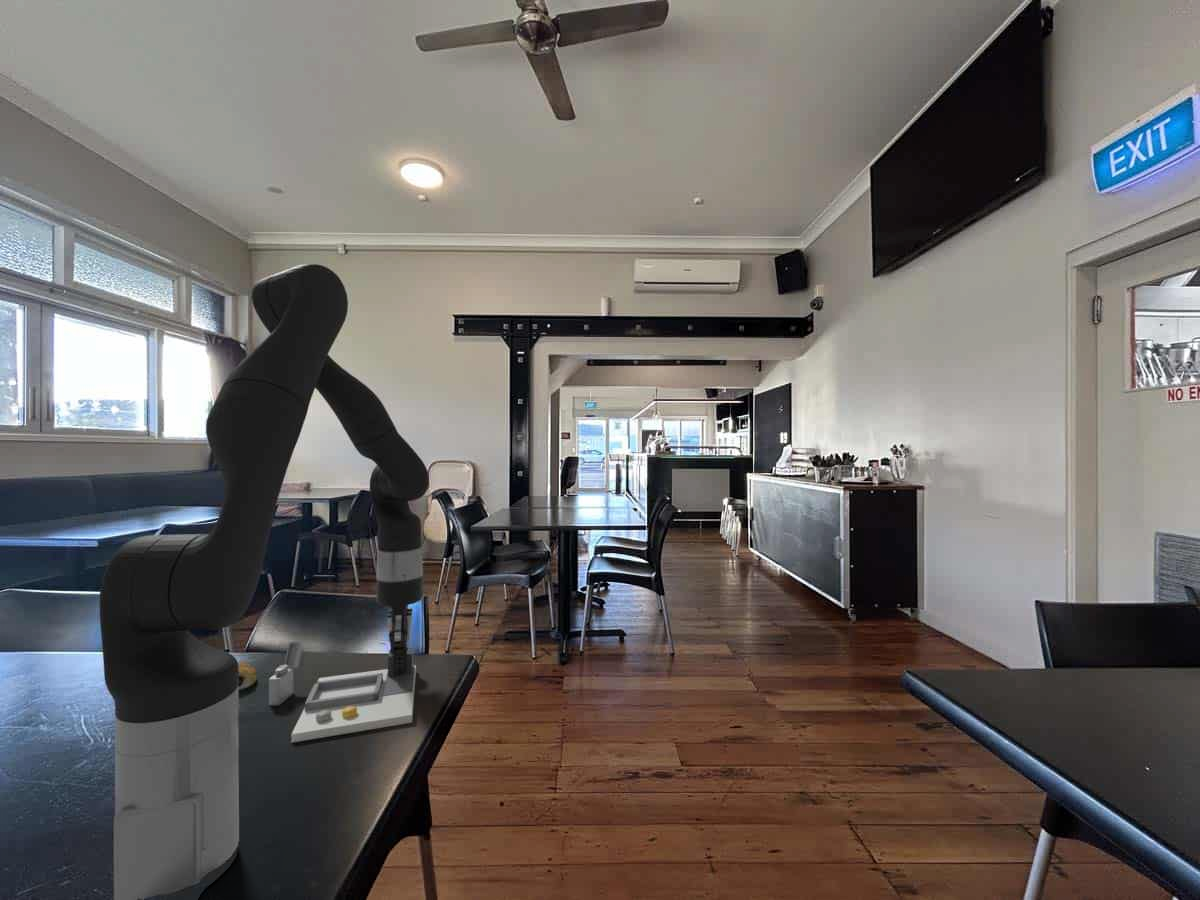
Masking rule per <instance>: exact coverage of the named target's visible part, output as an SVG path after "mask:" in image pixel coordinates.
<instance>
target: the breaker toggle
mask: <svg viewBox="0 0 1200 900" xmlns="http://www.w3.org/2000/svg"><path fill="white" fill-rule="evenodd" d="M390 650H391V649H389V651H388V656H387V669H388V676H395V675H394V674H393V655H391V653H390ZM413 662H414V647H408V651H407V672H406V673H405V674H409V673H412V670H413V666H414V663H413Z"/></svg>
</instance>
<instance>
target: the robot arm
mask: <svg viewBox="0 0 1200 900" xmlns="http://www.w3.org/2000/svg"><path fill="white" fill-rule="evenodd" d="M348 299H349V298H348V293H347V291H346V288H345V285H344V283H343V282H342V280H341V278H340V277H339V276H338V275H337V274H336V273H335V271H333V270H332V269H330V268H329V267H327V266H325V265H322V264H319V263H318V264H317V263H305V264H300V265H296V266H294V267H291V268H288V269H284V270H282V271H280V272H277V273H273V274H272V275H270V276H266V277H264V278H262V279H260V280H258V281H257V282H255V284H254V285H253V287H252V290H251V301H252V305H253V308H254V310H255V313H256V314H257V316H258V318H259V320H260V321H261V323H262V324H263V326H264V327H265V328H266V330H267V331H268V332H269V335H267V337H265V339H263V340H262V341H261V342H260V343H259V344H258V345H257V346H256V347H254V348H253V349H252V351H250V352H249V353H248V354H247V355H246V356H245V357H244V358H243V359H242V360H241V361H240V362H239V363H238V364H237V366H235V368H234V369H232V371H231V373H230V374H229V375H228V376H227V377H226V379H225V380H224V382H223V384H222V386H221V388H220V391H219V392H218V395H217V396H216V399H215V401H214V403H213V405H212V408H211V409H210V412H209V414H208V415H207V418H206V423H205V424H206V426H205V433H206V438H207V442H208V445H209V448H210V451H211V453H212V455H213V458H214V460H215V462H216V465H217V467H218V469H219V472H220V474H221V477H222V480H223V484H224V497H223V501H222V505H221V509H220V513H219V515H218V518H217V521H216V523H215V525H214V526H213V528H212V530H211V531H210V532H209V533H196V534H195V533H193V534H192V533H191V534H189V533H187V534H186V533H185V534H184V533H183V534H154V535H145V536H139V537H136V538H133V539H131V540H129V541H127V542H125V544H123V545H122V546H120V547H119V548H118V549H117V550H116V551H115V552H114V554H113V555H112V557H111V558H110V559H109V562H108V563H107V566H106V568H105V571H104V572H103V576H102V579H101V584H100V590H99V606H98V607H99V624H100V633H101V635H100V637H101V645H102V659H103V675H104V681H105V682H104V683H105V686H106V689H107V690H108V693H109V694H110V696H111V697H112V699H113V701H114V714H115V715H114V717H115V718H114V725H115V728H114V729H115V731H114V732H115V733H114V734H115V736H114V737H115V739H114V741H115V743H114V745H115V746H114V755H115V756H114V790H115V792H114V794H115V795H114V799H115V800H114V801H115V802H114V803H115V804H114V810H115V811H114V815H115V816H114V818H113V900H137V899H145V898H148V897H152V896H156V895H161V894H168V893H169V894H170V893H172V892H176V891H179V890H181V889H183V888H185V887H187V886H191V885H195V884H198V883H199V882H200V881H201V879H202V878H203V877H204V876H206V874H208V873H209V872H211V871H212V870H214V869H216V868H218V867H219V866H221V865H222V864H223V863H225V861H226V860H228V859H229V858H230V857H231V856H232V854H233V853H234V851H235V850H236V848H237V846H238V842H239V843H240V811H239V810H240V807H239V804H240V802H239V799H240V798H239V797H240V795H239V788H240V786H239V783H240V782H239V775H240V774H239V691H238V684H239V668H238V663H239V662H238V660H237V658H236V657H235V656H234V655H233V654H231V653H230V652H228V651H225V650H223V649H219V648H216V647H215V646H211V645H209V644H207V643H204V642H203V641H201V640H200V639H199V638H197V637H195V636H194V635H193V633H191V632H190V631H205V630H207V631H209V630H220V629H224V628H227V627H229V626H231V625H233V624H234V623H236V622H238V621H239V619H240V618H241V617H242V616H243V615H244V614H245V613H246V611H247V609H248V607H249V606H250V604H251V601H252V599H253V597H254V595H255V592H256V590H257V588H258V584H259V581H260V577H261V574H262V570H263V564H264V562H265V557H266V551H267V547H268V542H269V539H270V533H271V529H272V525H273V522H274V517H275V511H276V509H277V503H278V500H279V495H280V492H281V489H282V486H283V483H284V480H285V476H286V473H287V471H288V467H289V464H290V462H291V459H292V457H293V454H294V451H295V448H296V445H297V443H298V441H299V438H300V435H301V432H302V430H303V427H304V423H305V421H306V417H307V415H308V411H309V407H310V403H311V400H312V398H313V394H314V392H315V390H317V392H318V393H319V394H320V395H321V396H322V397H323V400H325V401H326V403H327V404H328V405H329V407H330V409H331V410H332V412H333V413H334V415H335V416H336V418H337V419H338V421H339V423H340V424H341V427H343V429H344V431H345V433H346V435H347V437H348V438H349V440H350V441H351V443H352V444H353V446H354V448H355V449H356V451H357V452H358V453H359V454H360V455H361V456H363V457H364V458H367V459H369V460H371V461H372V462H373V463H375V466H374V468H373V470H372V472H371V475H370V478H369V479H370V480H369V493H370V494H369V495H370V499H371V504H372V507H373V512H374V516H375V519H376V522H377V526H378V527H377V528H378V529H377V556H376V567H375V568H376V573H375V574H376V575H375V576H376V583H375V584H376V585H375V587H376V591H375V592H376V593H375V594H376V595H375V596H376V598H375V599H376V603H377V604H378V605H379V606H382V607H389V608H391V610H390V609H389V610H388V614H387V615H386V625H387V627H388V642H389V644H390V649H389V650H390V653H391V655H393V674H394V675H402V674H405V673H406V672H407V651H408V648H410V647H409V646H410V645H409V641H410V640H411V633H412V622H413V621H412V619H413V608H409V605H413V604H416V603H418V602H420V601H421V600H422V599H423V597H424V588H423V587H424V578H423V577H424V564H423V562H424V560H423V558H424V557H423V552H422V522H421V518H420V517H419V516H418V515H417V514H415V513H413V511H411V508H410V505H409V502H412V501H416V500H419V499H421V498H422V497H424V495H426V493H427V492H428V489H429V486H430V476H429V471H428V468H427V466H426V465H425V463H424V461H423V460H422V458H421V457H420V456H419V455H418V454H417V453H416V451H415V450H414V449H413V448H412V446H411V445H410V444H409V443H408V442H407V441H406V440H405V439H404V438H403V436H401V435H400V433H399V432H398V430H397V428H396V426H395V424H394V422H393V420H392V418H391V416H390V414H389V413H388V411H387V409H386V407H385V406H384V404H383V402H382V401H381V399H380V398H379V396H377V395H376V394H375V393H374V391H372V389H370V388H369V387H368V385H366V384H365V383H363V382H362V381H361V380H359V379H358V378H356V377H355V376H354V375H352V374H351V373H350V372H349V371H347V370H346V369H344V368H343V367H342V366H341V365H340V364H338V363H337V362H336V361H335V360H334V359H333V358H332V357H331V356H330V355H329V353H330V350H331V348H332V347H333V345H334V343H335V341H336V339H337V337H338V335H339V333H340V332H341V330H342V328H343V325H344V323H345V321H346V318H347V315H348V307H349V300H348Z"/></svg>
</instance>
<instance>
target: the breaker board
mask: <svg viewBox="0 0 1200 900" xmlns="http://www.w3.org/2000/svg"><path fill="white" fill-rule="evenodd" d="M416 675H417V666H416V664H415V665H413V670H412V673H409V674H402V675H395V676H388V668H385V669H379V670H371V671H370V670H369V671H362V672H355V673H348V674H342V675H341V674H340V675H332V676H325V677H319V678H318V679H317V681H315V682H314V684H313V686H312V689H311V690H310V692H309V695H308V696H307V698H306V700H305V703H304V707H303V710H302V712H301V714H300V716H299V718H298V720H297V722H296V724H295V726H294V729H293V730H292V732H291V735H290V736H291V738H290V739H291V742H290V743H291V744H292V743H299V742H303V741H309V740H315V739H316V740H317V739H322V738H328V737H333V736H339V735H346V734H351V733H359V732H362V731H368V730H369V731H370V730H374V729H375V730H376V729H383V728H387V727H388V728H389V727H393V726H399V725H406V724H411V723H413V715H414V714H413V713H414V703H415V687H416Z"/></svg>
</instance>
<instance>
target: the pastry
mask: <svg viewBox="0 0 1200 900" xmlns="http://www.w3.org/2000/svg"><path fill="white" fill-rule="evenodd" d="M238 668H239V684H238V692H239V691H242V690H245V689H247V688H249V687H252V686H253V685H254V684H255V683H256V680H257V678H258V675H257V670H256V669H255V667H254V666H252V664H249V663H247V662H245V661H243V662H241V661H239V662H238Z"/></svg>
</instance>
